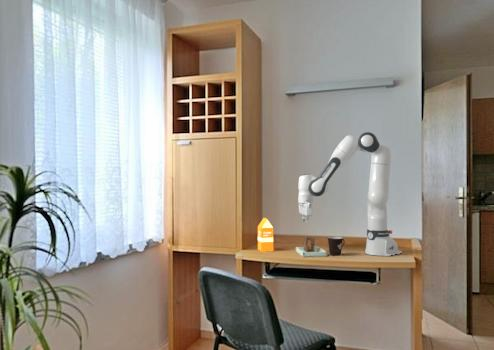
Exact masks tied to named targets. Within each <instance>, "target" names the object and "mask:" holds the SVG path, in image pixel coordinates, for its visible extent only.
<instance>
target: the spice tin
mask: <svg viewBox="0 0 494 350" xmlns="http://www.w3.org/2000/svg"><path fill="white" fill-rule="evenodd" d="M303 239H304V243H303V244H304V245H303V247H304V251H305V252H315V247H316V245H315V238H314V237H303ZM308 241H310V242H311V243H310V245H311V246H310V247H311V249H308V246H309V245H308V243H309V242H308ZM308 250H310V251H308Z"/></svg>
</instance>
